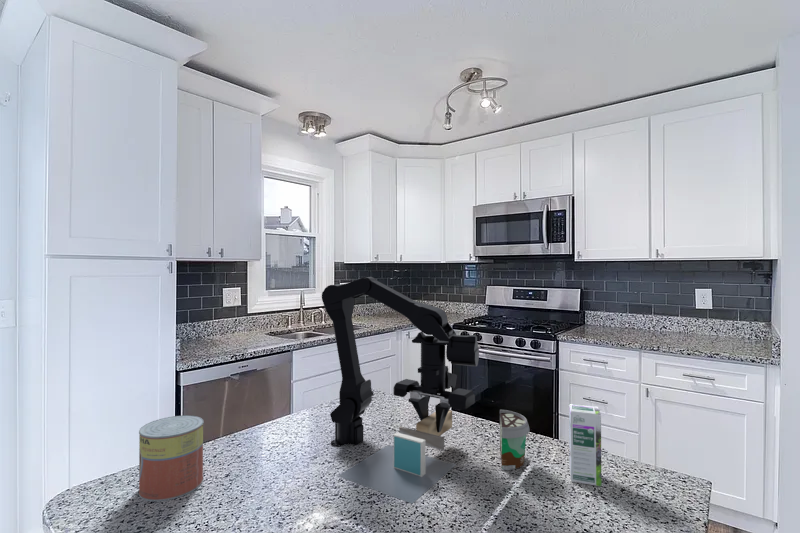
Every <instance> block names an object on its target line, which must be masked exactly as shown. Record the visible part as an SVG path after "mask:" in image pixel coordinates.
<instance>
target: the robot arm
mask: <svg viewBox="0 0 800 533" xmlns="http://www.w3.org/2000/svg"><path fill="white" fill-rule="evenodd" d="M365 295H366V296H368V297H370V298H372V299H374V300H376V301H378V302H379V303H381V304H383V305H384V306H386V307H387V308H390V309H392V310H394V311H395V312H396V313H399V314H401V315H403V316H404V317H405V318H407V319H408V321H409V322H410V323H411V324H412V325H413V326H415V327H416V329H418V330H419V332H418V333H417V335H416V336H415V337H414V338H413V339H412V340H411V343H413V344H420V367H418V368H417V373H419V374H420V383H419V381H418V380H415V379H414V380H413V379H409V378H405V379H402V380H400V381H397V382H396V383H395V384H394V385H393V389H392V391H393V396H395V397H399V398H405V397H406V395H408V393H409V398H408V402H409V403H410V404H412V406H413V408H414V409H415V411H416V414H417V416H418V418H419V419H420V421H421V420H423V419H425V418H426V417H428V416H429V415H430V414H429V410H430V409H429V403H430V399H431V398H436V399H439V403H438V404H435V405H434V407H435V408H434V409H435V410H434V412H436V427H437V432H438V433H439V432H441V430H442V427H443V424H444V421H445V418H446V416H447V413H448V411H449V410H450V409H451V408H453V409H457V410H458V409H459V410H467V409H468V408H470V407H471V406H472V405H474V404H475V403H476V395H475V393H474V391H473V390H472V389H471V390H470V389H464V388H456V385H457V384H456V383H457V378H458V377H457V376H458V375H457V374H455V373H452V372H449V366H448V365H446V360H448V362H450V364H451V365H456V366H465V367H466V366H468V367H478V365H479V360H480V359H479V358H480V347H479V343H478V337H477V335H475V334H469V335H463V334H461V335H460V334H457V332H456V331H455V330H454V329H453V327H452V326H451V325H450V323H449V322H448V318H449V317H448V314H447V313H446V311H445V310H444V309H442V308H440V307H437V306H433V305H431V304H428V303H423V302H419V301H416V300H414V299H412V298H411V297H408V296H406V295H405V294H403V293H401V292H399V291H397V290H395V289H393V288H391V287H390V286H389V285H386V284H384V283H382V282H381V281H378V280H377V279H376V278H375V277H373V276H363V277H360V278H359V279H356V280H353V281H350V282H347V283H344V284H343V283H342V284H341V283H340V284H338V283H337V284H330V285H328V286H326V287H325V288H324V289H323V291H322V292H321V302H322V303H323V307H324V310H325V313H326V314H327V315H328V316H329V318H330V319H331V322H332V325H333V330H334V336H335V343H336V348H337V353H338V354H337V355H338V361H339V368H340V372H341V382H340V389H339V394H338V395H339V405H338V406H336V408H334V410H332V411H331V412H330V413H329V414H330V420H331V422H332V423H334V435H335V436H334V439H332V440H331V441H330V444H331V445H333V446H336V447H342V446H345V445H353V446H355V445H356V446H358V445H359V444H361V443H363V442H364V425H363V417H361V416H362V415H363V414H364V413H365V411H366V409H367V408H369V407H370V405H371V403H372V401H373V398H372V397H373V396H374V395H375V394H374V392H373V389H372V380H371V379H365V377H364V376H363V375H362V372H361V371H362V370H361V366H360V360H359V352H358V347H357V342H356V337H355V331H354V324H353V323H354V322H353V318H352V317H353V314H354V309H355V299H359V298H360V297H363V296H365ZM450 388H452V389H455V388H456V389H455V390H453V391H448V390H449V389H450Z"/></svg>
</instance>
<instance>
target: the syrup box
mask: <svg viewBox="0 0 800 533" xmlns="http://www.w3.org/2000/svg"><path fill="white" fill-rule="evenodd" d="M568 408H569V409H568V410H569V414H568V416H569V474H570V481H571V483H579V484H583V485H591V486H596V487H599V488H600V487H602V483H603V482H602V481H603V480H602V415H601V414H602V413H601V411H600V408H599V406H598V405H597V406H596V405H583V404H575V403H570V404H569V406H568Z"/></svg>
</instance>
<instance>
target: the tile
mask: <svg viewBox="0 0 800 533" xmlns="http://www.w3.org/2000/svg"><path fill="white" fill-rule="evenodd" d="M393 446H394V468H396V469H399V470H402V471H405V472H409V473H412V474H415V475H418V476H421V477H422V476H423V475H425V456H426V446H425V440H424V439H420V438H416V437H413V436H409V435H405V434H401V433H399V431H398V432H396V433H394V434H393Z"/></svg>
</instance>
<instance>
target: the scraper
mask: <svg viewBox="0 0 800 533" xmlns="http://www.w3.org/2000/svg"><path fill="white" fill-rule="evenodd" d="M452 428H453V410H450V409H449V411H448V413H447V416H446V418H445V421H444V424H443V427H442V430H441V432H439V433H438V432H437V427H436V411H434V412H433V413H431V414H429V416H428V417H426V418H425V419H423V420H420V421H418V422H416V425H415V429H413V428H409V427H406V426H399V428H398V430H399V431H398V433H401V434H405V435H409V436H413V437H416V438H420V439H424V440H425V447H428V448H431V449H432V448H433V449H436V450H439V451H444V450H445V437H444V436H442V435H443V434H445V433H447V431H449V430H450V429H452Z"/></svg>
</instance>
